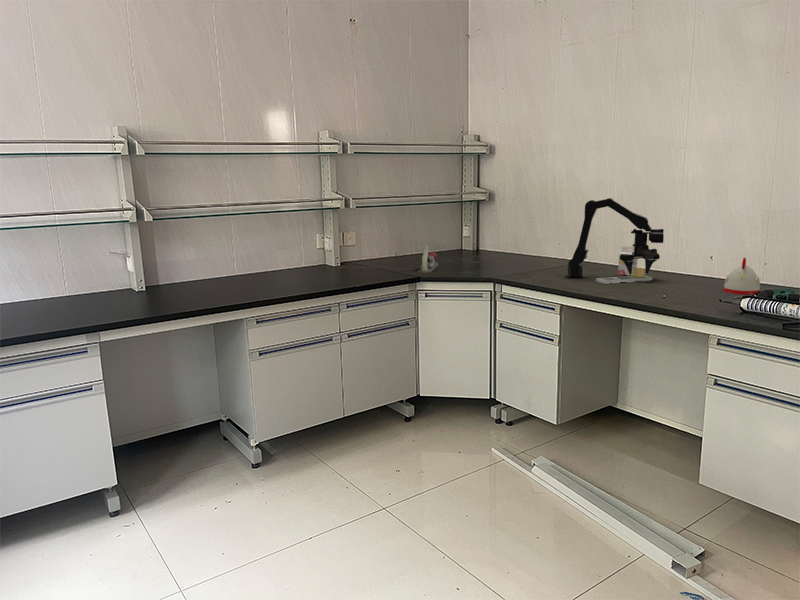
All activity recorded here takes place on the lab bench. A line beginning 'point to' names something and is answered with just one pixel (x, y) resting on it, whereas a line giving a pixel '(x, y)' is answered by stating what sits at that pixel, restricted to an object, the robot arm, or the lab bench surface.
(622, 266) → the ink cartridge box
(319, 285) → the lab bench surface
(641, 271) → the brass block
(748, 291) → the kitchen timer
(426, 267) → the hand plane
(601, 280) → the grey compartment frame
